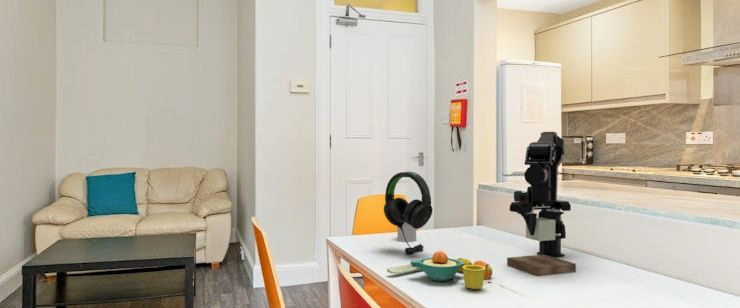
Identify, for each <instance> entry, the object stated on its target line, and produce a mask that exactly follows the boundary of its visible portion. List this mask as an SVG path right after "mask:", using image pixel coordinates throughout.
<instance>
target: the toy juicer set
mask: <svg viewBox="0 0 740 308" xmlns="http://www.w3.org/2000/svg"><path fill="white" fill-rule="evenodd" d="M411 271H414V272H419V271H422V272H423V273H425V274H426V276H428V277H429V278H430V279H431V280H433V281H441V282H443V281H444V282H445V281H450V279H452V278H453V277H454V276H455V275H456V274H457V273H462V274H463V279H464V280H463V281H464V286H465V287H466V288H468V289H471V290H478V289H482V288H483V286H484V281H485V280H489V279H491V277H492V275H493V268H492V266H491V265H490V264H489V263H487V262H485V261H483V260H475V261H474V262H473V263H472V261H471V260H470V259H467V258H462V257H458V258H457V259H456V258H455V259H454V258H449V257H448V255H447V253H445V252H444V251H441V250H440V251H435V252H434V253H433V254H432V257H426V258H422V259H413V260H412V259H411V260H410V263H409V264H403V265H398V266H393V267H388V268H387V269H386V272H387V273H389V274H401V273H407V272H411Z"/></svg>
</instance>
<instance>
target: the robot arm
mask: <svg viewBox="0 0 740 308" xmlns="http://www.w3.org/2000/svg"><path fill="white" fill-rule="evenodd" d="M565 155H566V145H565V140H564V139H563V138H562V137H560V136H559V135H558V133H557V132H555V131H542V132H540V137H539V138H538V140H537V141H533V142H530V143H529V144H528V146H527V147H526V153H525V159H524V165H525V166H528V167H527V168H526V170H525V171H524V174H523V175H524V180H525V181H526V183H528V184H529V185H530V186H527V188H526V192H523V191H522V190H516V191H514V192H513V200H514V201H513V202H511V203H510V205H509V211H510V212H511V213H512V212H513V213H517V214H518V215H521V217H523V219H524V221H525V222H524V223H525V225H526V224H527V227H528V230H529V233H530V235H532V236H533V235H534V232H535V225H536V218H547V219H553V220H555V240H547V241H538V243H539V245H538V246H539V248H538V250H539V251H537V252H536V255H547V256H550V257H554V258H556V257H563V256H565V254H564V253H562V240H563V239H566V237H567V235H566V225H565V224H564V221H563V220H562V215H564V213H565V212H570V211H572V210H571V203H570V201H567V200H560V199H558V178H559V177H558V176H559V167H560V166H561V164H562V162H563V161H564V156H565ZM535 210H537V211H538V210H540V211H539V212H538V214H537V213H535Z"/></svg>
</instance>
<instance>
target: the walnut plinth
mask: <svg viewBox="0 0 740 308" xmlns="http://www.w3.org/2000/svg"><path fill="white" fill-rule="evenodd" d="M506 262H507V263H506V265H507V266H508V267H510V268H513V269H516V270H518V271H522V272H524V273H528V274H530V275H533V276H535V277H541V276H542V277H543V276H550V275H553V276H554V275H559V274H561V275H562V274H568V273H569V274H571V273H576V270H577V268H576V267H577V264H576V263H574V262H571V261H568V260H564V259H562V258H561V259H560V258H558V257H557V258H556V257H550V256H547V255H541V254H534V255H532V254H531V255H523V256H512V257H507V258H506Z"/></svg>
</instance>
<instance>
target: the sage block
mask: <svg viewBox="0 0 740 308" xmlns="http://www.w3.org/2000/svg"><path fill="white" fill-rule="evenodd" d="M525 238H526V239H530V240H533V241H537V242H539V241H547V240H555V220H553V219H547V218H538V217H537V218H536V225H535V232H534V235H533V236H532V235H530V233H529V230H528V227H527V224H526V223H525Z"/></svg>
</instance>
